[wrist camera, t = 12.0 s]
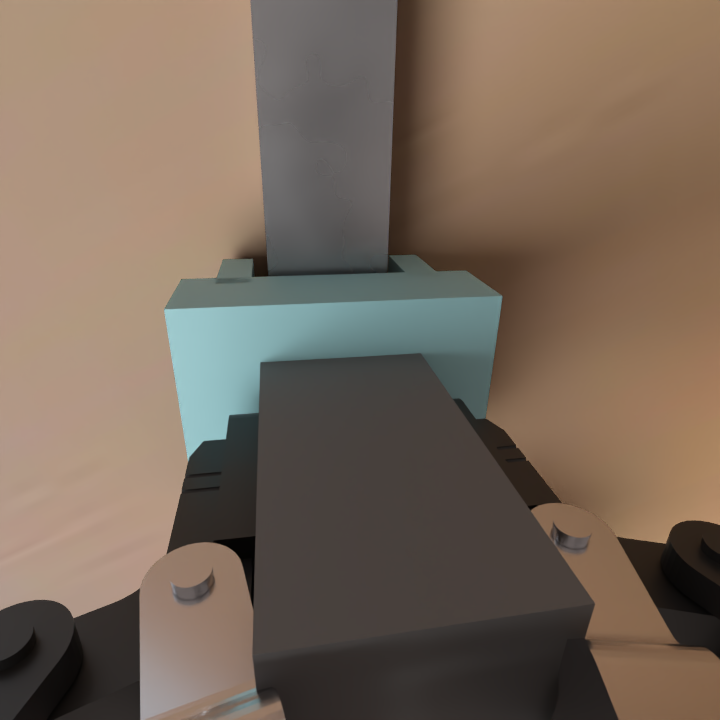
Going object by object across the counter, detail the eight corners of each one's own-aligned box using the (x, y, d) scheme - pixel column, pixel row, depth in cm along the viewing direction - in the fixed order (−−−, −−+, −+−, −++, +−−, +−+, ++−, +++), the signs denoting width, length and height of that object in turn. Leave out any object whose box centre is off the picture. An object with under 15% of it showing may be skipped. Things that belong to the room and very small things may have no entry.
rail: (166, -431, 9) (117, -706, 6) (438, -379, 10) (513, -600, 7) (253, 491, 17) (251, 563, 14) (393, 478, 18) (417, 543, 15)
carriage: (192, 260, 13) (6, 581, 4) (442, 253, 14) (782, 491, 5) (216, 447, 16) (140, 922, 6) (427, 429, 17) (633, 810, 7)
